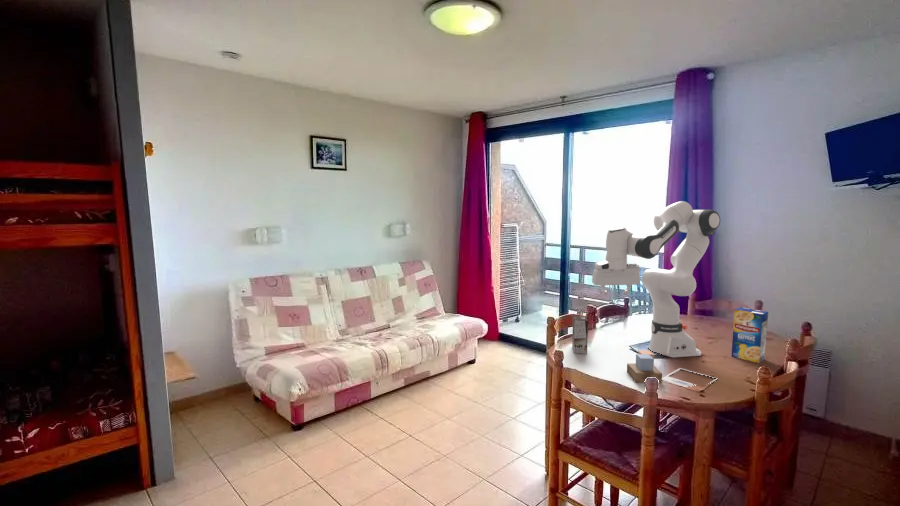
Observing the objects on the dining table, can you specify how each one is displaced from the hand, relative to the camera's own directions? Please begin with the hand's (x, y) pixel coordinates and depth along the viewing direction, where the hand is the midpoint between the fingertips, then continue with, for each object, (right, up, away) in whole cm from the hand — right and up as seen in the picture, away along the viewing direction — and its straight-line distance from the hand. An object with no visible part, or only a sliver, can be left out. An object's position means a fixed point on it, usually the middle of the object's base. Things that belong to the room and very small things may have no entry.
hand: (615, 294), depth 193 cm
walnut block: (+5, -32, -18) cm, 37 cm away
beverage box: (+61, -29, +2) cm, 67 cm away
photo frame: (+21, -33, -21) cm, 44 cm away
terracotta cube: (+12, -30, -3) cm, 33 cm away
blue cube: (+5, -28, -19) cm, 34 cm away
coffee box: (-12, -29, +15) cm, 34 cm away
